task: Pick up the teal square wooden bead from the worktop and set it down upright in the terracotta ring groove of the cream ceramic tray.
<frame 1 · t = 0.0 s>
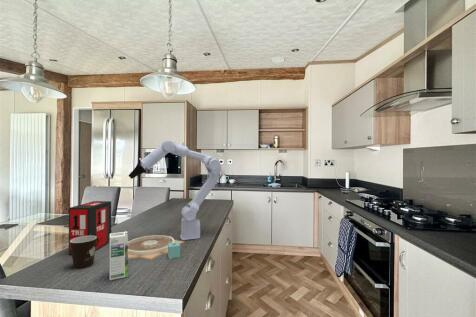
hand: (130, 176, 114), 32 cm above the countertop, tool tilted 50°, fingers open, 7 cm apart
coffee mug: (87, 264, 93), on the countertop
ring tray: (150, 247, 110), on the countertop
bead: (173, 256, 100), on the countertop
syrup box: (118, 275, 83), on the countertop
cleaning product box: (91, 248, 110), on the countertop
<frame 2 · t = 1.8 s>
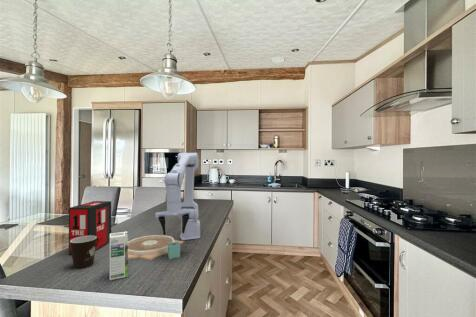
hand: (173, 233, 100), 9 cm above the countertop, tool pointing down, fingers open, 7 cm apart
nothing on the countertop moved.
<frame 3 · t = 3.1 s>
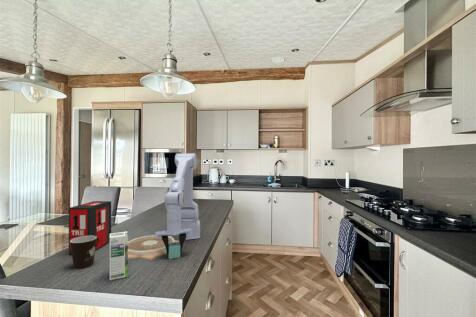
hand: (173, 252, 100), 1 cm above the countertop, tool pointing down, fingers closed on bead, 4 cm apart
bead: (173, 256, 100), on the countertop, touching gripper
everything else where it was.
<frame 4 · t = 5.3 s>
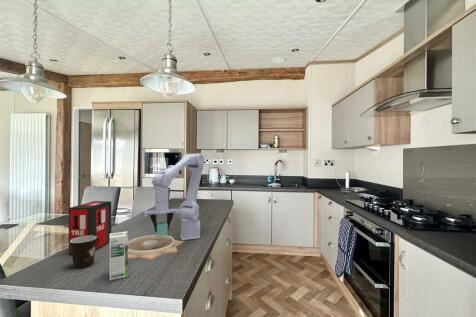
hand: (161, 230, 108), 8 cm above the countertop, tool pointing down, fingers closed on bead, 4 cm apart
bead: (161, 234, 107), point 7 cm above the countertop, touching gripper
everything else where it was.
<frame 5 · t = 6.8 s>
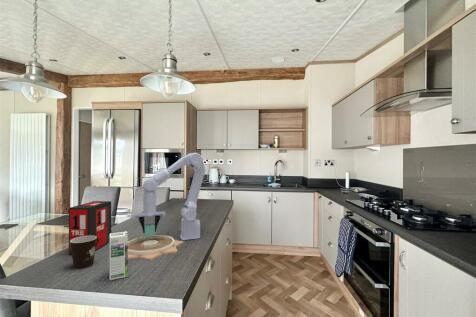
hand: (149, 231, 116), 5 cm above the countertop, tool pointing down, fingers closed on bead, 4 cm apart
bead: (149, 235, 116), point 4 cm above the countertop, touching gripper
everything else where it was.
when the fingers open (3 cm above the countertop, at t = 7.7 s): bead stays where it is, resting on ring tray.
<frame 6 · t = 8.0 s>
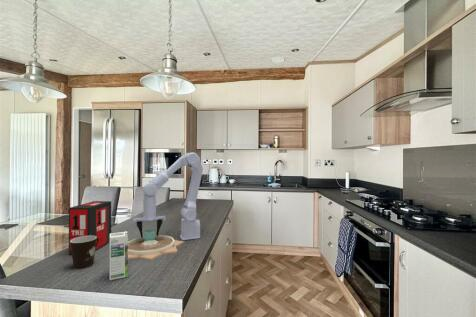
hand: (149, 236, 116), 3 cm above the countertop, tool pointing down, fingers open, 6 cm apart
bead: (149, 241, 116), point 1 cm above the countertop, touching ring tray
everything else where it was.
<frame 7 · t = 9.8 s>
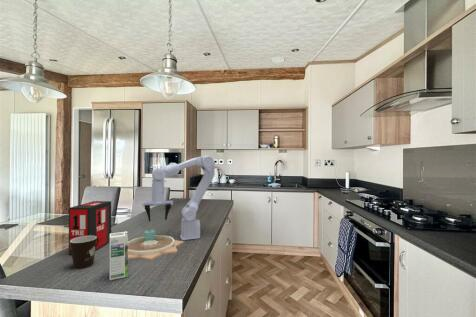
hand: (157, 220, 119), 10 cm above the countertop, tool pointing down, fingers open, 7 cm apart
nothing on the countertop moved.
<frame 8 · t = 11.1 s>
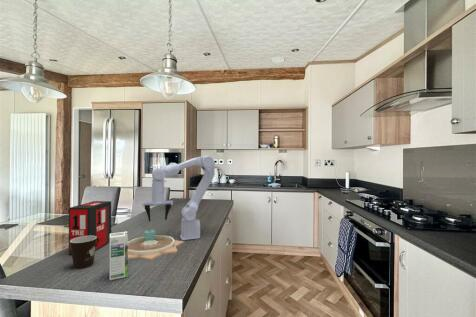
hand: (157, 220, 119), 10 cm above the countertop, tool pointing down, fingers open, 7 cm apart
nothing on the countertop moved.
at the end: bead 0.4 cm from the target spot on the ring tray, point 0.8 cm above the ring tray's base; bead tilted 0°; the gripper is holding nothing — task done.
